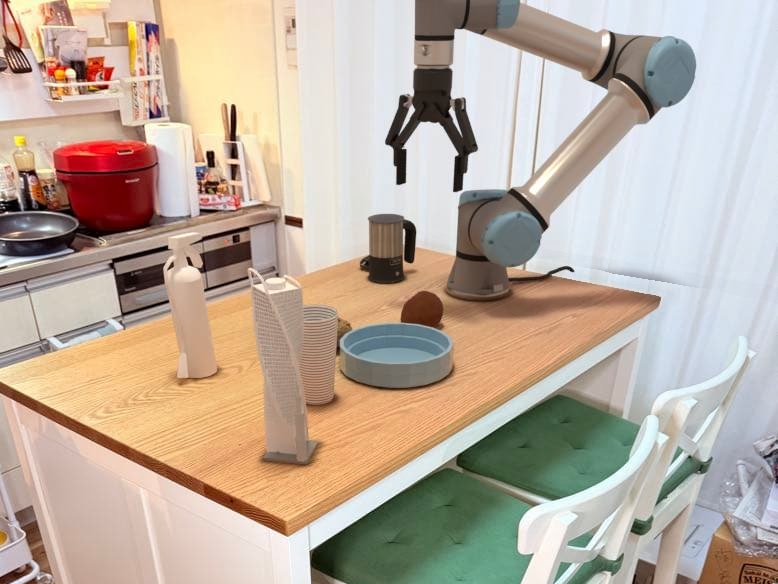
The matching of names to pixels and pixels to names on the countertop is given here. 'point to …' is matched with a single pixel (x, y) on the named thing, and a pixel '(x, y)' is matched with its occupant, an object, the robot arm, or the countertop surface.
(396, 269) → the milk frother
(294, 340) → the skyscraper
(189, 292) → the fire extinguisher
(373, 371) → the bowl
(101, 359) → the countertop surface
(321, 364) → the cup
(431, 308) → the potato
